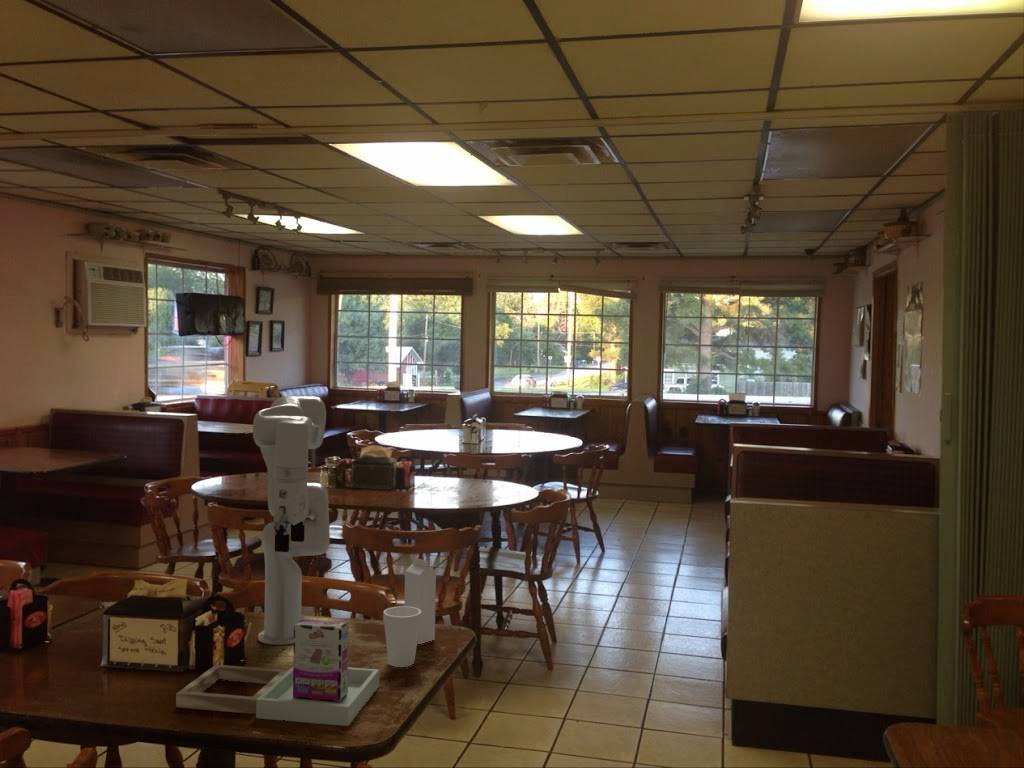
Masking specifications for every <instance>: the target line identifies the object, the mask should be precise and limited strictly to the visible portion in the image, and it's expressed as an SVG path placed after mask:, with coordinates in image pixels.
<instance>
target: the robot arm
mask: <svg viewBox="0 0 1024 768" xmlns="http://www.w3.org/2000/svg"><path fill="white" fill-rule="evenodd" d="M325 405H326V404H325V402H324V401H323V399H322V398H320V397H318V396H315V395H314V396H311V395H309V396H307V395H285V396H280V397H278V398H276V399H275V400H273V402H272V403H271V405H270V407H269V408H263V409H262V410H259V411H258V412H256V414H255V416H254V418H253V424H252V437H253V442H254V443H255V444H256V446H258V447H259V449H260V452H261V455H262V458H263V460H264V462H265V466H266V468H267V469H266V470H267V507H268V511H269V513H270V515H271V516H272V517H273V521H272V522H269V523H267V524H266V525H265V526H264V528H263V530H262V534H261V535H262V536H261V538H262V539H261V540H262V547H263V554H264V618H263V619H264V622H263V623H264V625H263V628H264V629H263V630H262V631H260V632H259V633H258V636H257V640H258V641H259V642H261V643H262V644H265V645H270V646H271V645H272V646H284V645H285V646H286V645H294V625H295V624H296V623H298V622H299V621H301V620H302V619H304V616H303V614H302V589H303V588H302V586H303V584H302V582H303V579H302V577H303V574H302V570H301V568H300V566H299V564H297V562H296V561H295V560H294V559H293V557H307V556H320V555H323V554H326V553H327V552H328V550H329V548H330V543H331V542H330V535H331V534H330V533H331V532H330V511H329V497H328V496H329V495H328V491H327V488H326V487H325V486H324V484H322V483H319V482H308V480H309V478H308V477H309V475H308V474H309V450H312V449H313V450H315V449H318V448H319V447H321V446H322V444H323V441H324V437H325V427H326V423H327V410H326V406H325ZM308 518H309V519H308Z"/></svg>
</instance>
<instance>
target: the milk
mask: <svg viewBox="0 0 1024 768" xmlns="http://www.w3.org/2000/svg"><path fill="white" fill-rule="evenodd" d="M436 581H437V571H436V570H435V569H432V567H429V561H428V560H425V559H421V558H417V557H413V559H412V564H410V565H409V566H408V568H406V570H404V599H403V600H404V601H403V603H404V604H403V606H407V607H414V608H418V609H420V610H421V623H420V627H419V634H418V641H417V644H421V645H423V644H422V643H425V642H428V641H431V642H433V641H432V640H434V641H435V638H436V636H435V634H436V633H435V631H436V627H435V626H436V595H437V594H436V591H437V589H436V586H437V582H436ZM428 643H429V642H428ZM425 644H426V643H425Z"/></svg>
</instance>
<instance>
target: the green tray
mask: <svg viewBox="0 0 1024 768" xmlns="http://www.w3.org/2000/svg"><path fill="white" fill-rule="evenodd" d="M288 670H289V671H287V672H286V673H285V674H284V675H283V676H282V677H281V678H280V679H279V680H277V681H276V682H275V683H274V684H273V685H272V686H271V687H270V688H269V689H267V690H266V691H265V692H264V693H263V694H262V695H261V696H260V697H258V698H257V699H256V714H255V718H256V719H262V720H273V721H274V720H275V721H283V720H285V721H286V722H295V723H309V724H319V725H321V724H322V725H332V726H343V727H349V726H350V725H351V724H352V723H353V721H354V719H356V717H357V715H358V714H359V713H360V712H361V710H362V709H363V708H364V707H363V706H365V705H366V704H367V703H368V702H369V700H370V699H371V698H372V696H373V695H374V694H375V693H376V692H377V690H378V689H379V687H380V669H377V668H376V669H375V668H365V667H364V668H363V667H362V668H361V667H351V666H350V667H349V666H348V694H347V696H346V697H345V698H344V699H343V700H342V701H341V702H330V701H319V700H308V699H297V698H293V666H292V667H291V668H290V669H288ZM377 688H378V689H377ZM374 692H375V693H374ZM373 693H374V694H373ZM370 697H371V698H370ZM366 702H367V703H366ZM362 707H363V708H362ZM359 711H360V712H359ZM285 721H284V722H285Z"/></svg>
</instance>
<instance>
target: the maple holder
mask: <svg viewBox="0 0 1024 768" xmlns="http://www.w3.org/2000/svg"><path fill="white" fill-rule="evenodd" d="M289 670H290V669H280V668H279V669H275V668H268V667H267V668H265V667H251V666H250V667H249V666H237V665H227V664H226V665H225V664H214V665H213V666H212V667H210V668H209V669H208V670H206V671H205V672H203V673H202V674H201V675H200V676H198V677H197V678H195V679H194V680H193V681H192V682H190V683H188V684H187V685H186V686H184V687H183V688H182V689H181V690H179V691H177V692H176V693H175V707H176V708H181V709H193V710H205V711H216V712H228V713H229V712H231V713H238V714H239V713H241V714H251V715H256V699H257V698H258V697H260V696H261V695H262V694H263V693H264V692H265V691H266V690H267V689H269V688H270V687H271V686H272V685H273V684H274V683H275V682H276V681H277V680H279V679H280V678H281V677H282V676H283V675H284V674H285V673H286V672H287V671H289ZM218 679H223V680H222V681H225V680H228V681H227V682H238V681H240V682H242V683H250V682H251V683H252V684H254V683H255V684H263V685H264V684H265V685H264V686H262V687H261V689H259V690H258V691H257V692H255V694H254V695H252V696H249V695H248V696H246V695H234V694H226V693H225V694H223V693H222V694H221V693H211V692H205V691H206V690H208V689H209V688H211V686H213V685H214V684H215V683H216V681H217V680H218ZM218 681H219V680H218ZM218 681H217V682H218ZM212 684H213V685H212ZM207 688H208V689H207Z"/></svg>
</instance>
